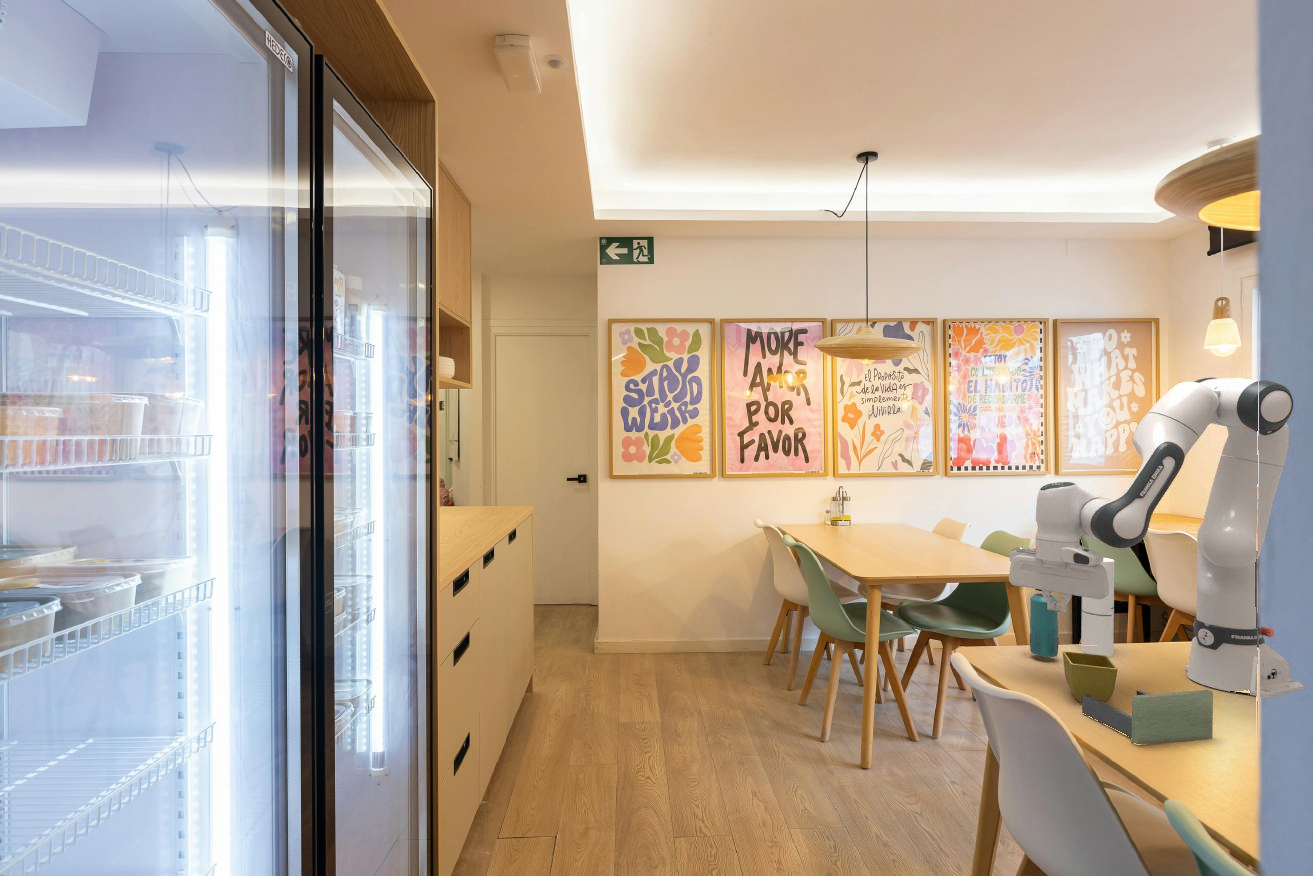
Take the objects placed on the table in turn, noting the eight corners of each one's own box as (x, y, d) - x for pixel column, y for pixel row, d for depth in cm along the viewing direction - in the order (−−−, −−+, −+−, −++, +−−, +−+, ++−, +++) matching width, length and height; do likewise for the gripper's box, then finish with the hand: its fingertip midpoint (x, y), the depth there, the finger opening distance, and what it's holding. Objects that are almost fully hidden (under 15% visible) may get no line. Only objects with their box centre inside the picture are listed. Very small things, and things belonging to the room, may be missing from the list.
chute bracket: (1146, 708, 143) (1146, 666, 143) (1212, 738, 129) (1213, 692, 129) (1076, 714, 140) (1077, 671, 140) (1137, 745, 126) (1137, 698, 126)
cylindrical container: (1118, 653, 178) (1119, 559, 178) (1106, 658, 174) (1107, 562, 174) (1088, 646, 184) (1089, 555, 184) (1076, 651, 180) (1077, 558, 180)
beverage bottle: (1062, 664, 170) (1063, 585, 170) (1033, 662, 171) (1034, 584, 171) (1052, 655, 176) (1053, 579, 176) (1025, 653, 178) (1026, 578, 177)
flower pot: (1118, 711, 142) (1118, 668, 142) (1070, 704, 145) (1070, 663, 145) (1106, 695, 150) (1106, 655, 150) (1061, 690, 153) (1061, 650, 153)
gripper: (1004, 547, 162) (1004, 604, 162) (1103, 559, 147) (1102, 622, 147) (1015, 544, 166) (1014, 600, 166) (1111, 556, 151) (1111, 617, 151)
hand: (1056, 610), depth 156 cm, fingers closed
